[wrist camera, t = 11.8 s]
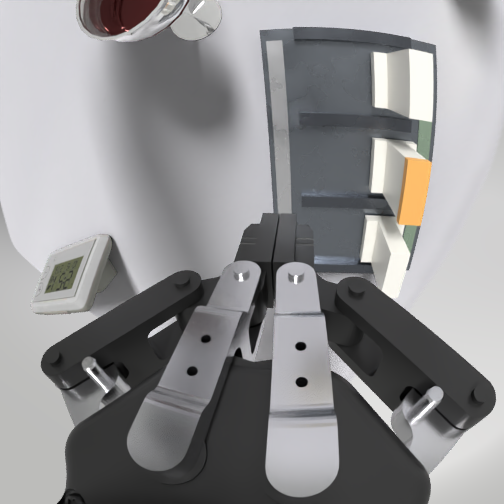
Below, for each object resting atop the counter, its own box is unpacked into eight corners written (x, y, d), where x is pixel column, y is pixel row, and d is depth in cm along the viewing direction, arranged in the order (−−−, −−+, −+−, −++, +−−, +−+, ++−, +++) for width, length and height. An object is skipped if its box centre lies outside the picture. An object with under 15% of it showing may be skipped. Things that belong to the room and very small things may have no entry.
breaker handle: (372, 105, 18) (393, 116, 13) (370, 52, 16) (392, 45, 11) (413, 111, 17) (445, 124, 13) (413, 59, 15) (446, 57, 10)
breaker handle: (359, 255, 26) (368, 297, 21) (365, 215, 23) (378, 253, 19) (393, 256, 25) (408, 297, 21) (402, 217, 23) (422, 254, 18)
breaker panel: (279, 250, 31) (275, 270, 28) (264, 35, 19) (258, 29, 16) (401, 253, 28) (410, 273, 26) (421, 47, 16) (438, 44, 13)
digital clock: (114, 228, 34) (66, 281, 25) (137, 282, 39) (102, 337, 30) (46, 235, 37) (5, 275, 28) (68, 278, 42) (34, 320, 33)
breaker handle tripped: (368, 188, 22) (385, 223, 17) (372, 136, 19) (394, 158, 15) (407, 191, 21) (432, 226, 16) (412, 141, 19) (444, 164, 14)
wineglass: (149, 17, 18) (61, 3, 8) (206, -25, 15) (140, -72, 6) (184, 62, 21) (104, 64, 11) (246, 21, 18) (199, -17, 8)
